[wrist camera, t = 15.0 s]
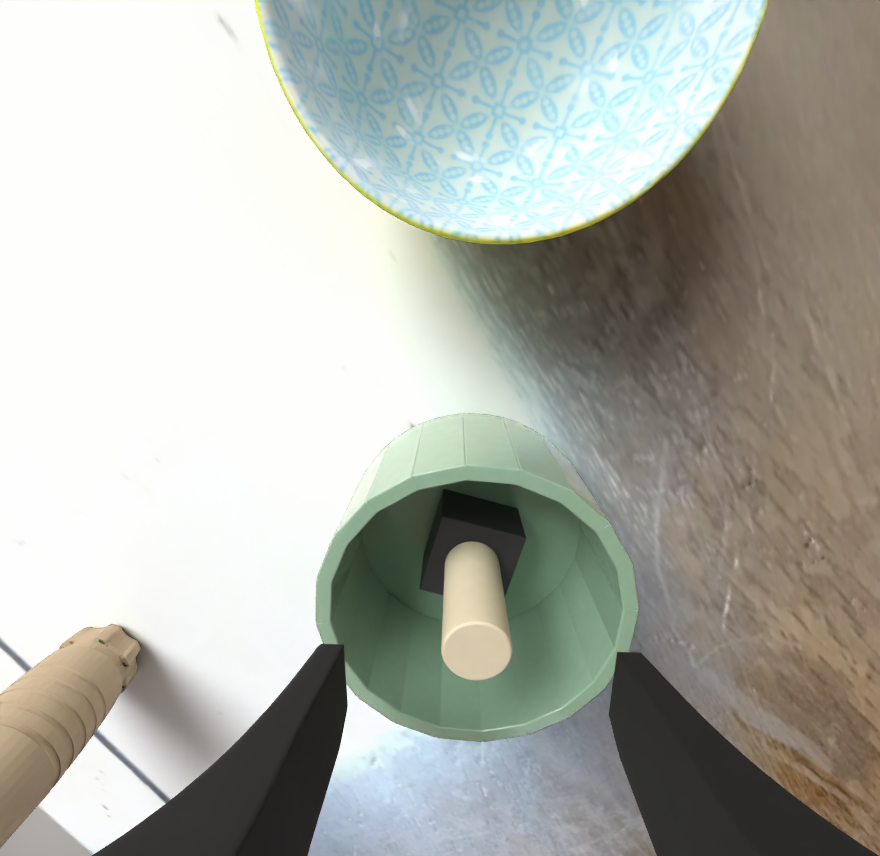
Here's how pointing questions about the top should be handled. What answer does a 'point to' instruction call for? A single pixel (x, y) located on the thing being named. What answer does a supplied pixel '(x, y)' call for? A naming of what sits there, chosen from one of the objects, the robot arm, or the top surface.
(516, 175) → the bowl
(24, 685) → the handle
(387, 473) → the beaker
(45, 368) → the top surface
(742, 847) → the robot arm
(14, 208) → the top surface
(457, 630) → the brush
